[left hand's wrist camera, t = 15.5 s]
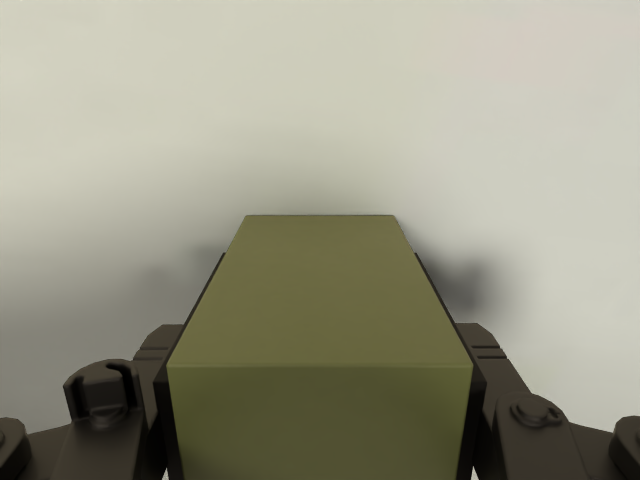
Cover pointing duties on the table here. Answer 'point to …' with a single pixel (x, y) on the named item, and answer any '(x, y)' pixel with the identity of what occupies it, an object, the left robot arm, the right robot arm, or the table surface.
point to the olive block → (319, 359)
